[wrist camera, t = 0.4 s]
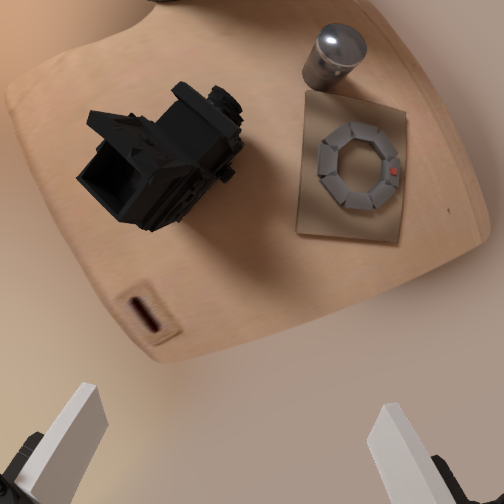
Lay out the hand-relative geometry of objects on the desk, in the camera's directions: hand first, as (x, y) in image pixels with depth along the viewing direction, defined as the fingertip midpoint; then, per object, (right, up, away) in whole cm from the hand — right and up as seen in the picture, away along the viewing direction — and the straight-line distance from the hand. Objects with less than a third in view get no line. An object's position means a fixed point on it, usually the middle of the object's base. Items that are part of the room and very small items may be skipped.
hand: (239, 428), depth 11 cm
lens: (+9, +31, +20) cm, 38 cm away
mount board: (+14, +18, +23) cm, 32 cm away
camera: (-6, +19, +23) cm, 30 cm away
